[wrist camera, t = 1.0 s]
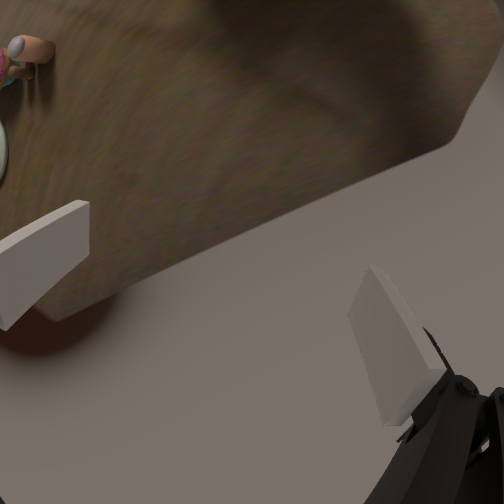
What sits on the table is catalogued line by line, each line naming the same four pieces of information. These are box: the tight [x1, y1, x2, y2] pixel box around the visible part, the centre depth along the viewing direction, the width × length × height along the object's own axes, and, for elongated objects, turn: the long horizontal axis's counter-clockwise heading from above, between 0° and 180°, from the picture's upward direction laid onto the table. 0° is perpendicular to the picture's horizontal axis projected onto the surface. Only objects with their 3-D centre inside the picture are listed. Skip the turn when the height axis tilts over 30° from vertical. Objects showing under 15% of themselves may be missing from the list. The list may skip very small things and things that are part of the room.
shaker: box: [7, 35, 55, 64], centre depth 25 cm, size 4×4×8 cm
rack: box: [8, 62, 35, 80], centre depth 27 cm, size 7×14×5 cm, turn 93°
